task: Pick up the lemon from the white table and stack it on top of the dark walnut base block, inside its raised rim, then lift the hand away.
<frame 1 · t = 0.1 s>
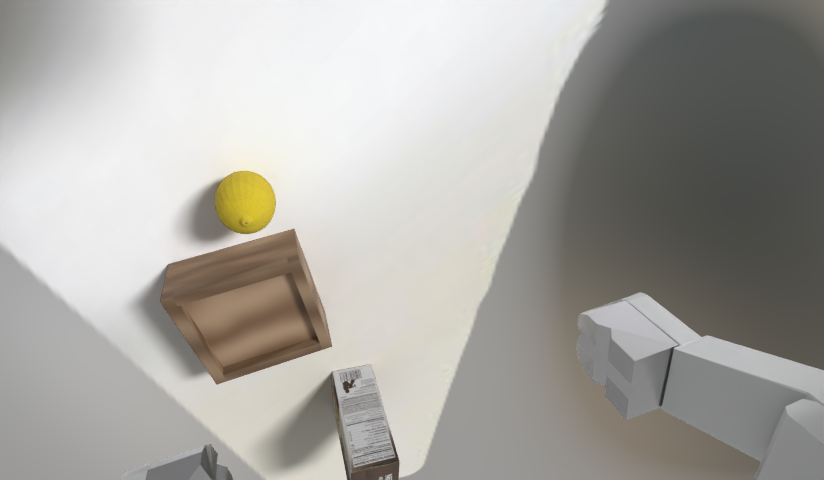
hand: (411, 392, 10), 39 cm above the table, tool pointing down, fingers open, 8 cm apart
lemon: (245, 182, 46), on the table
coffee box: (351, 384, 70), on the table
walnut base: (254, 290, 54), on the table
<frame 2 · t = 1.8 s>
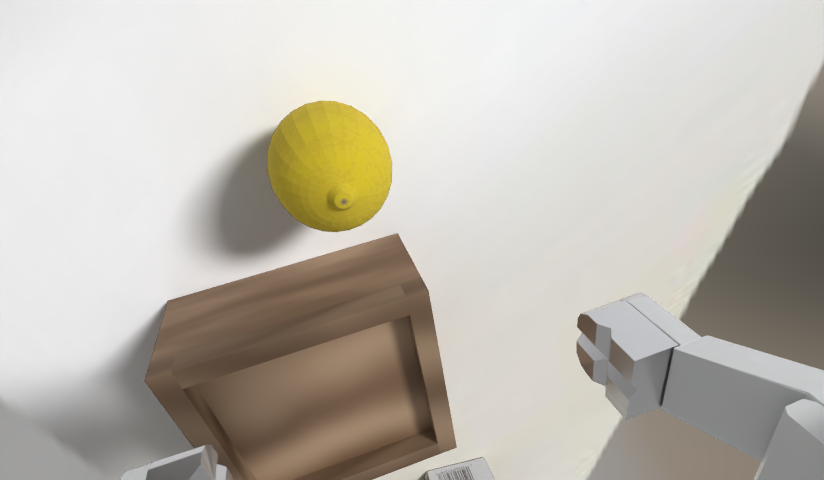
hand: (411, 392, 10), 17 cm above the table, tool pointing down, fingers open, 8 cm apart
lemon: (320, 138, 24), on the table
walnut base: (318, 346, 31), on the table
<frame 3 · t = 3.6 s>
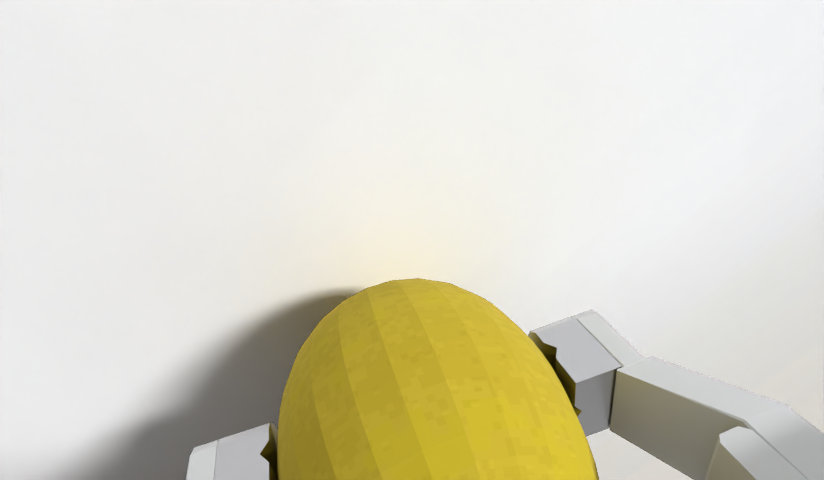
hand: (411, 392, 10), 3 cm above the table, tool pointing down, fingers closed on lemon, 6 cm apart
lemon: (379, 306, 12), on the table, touching gripper
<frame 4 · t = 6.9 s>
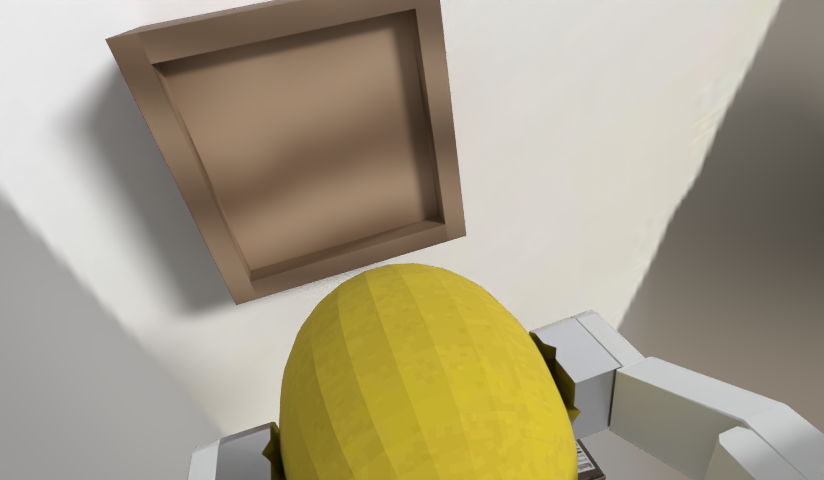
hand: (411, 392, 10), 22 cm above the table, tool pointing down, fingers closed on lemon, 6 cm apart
lemon: (376, 294, 13), point 18 cm above the table, touching gripper
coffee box: (456, 354, 42), on the table
walnut base: (313, 125, 28), on the table
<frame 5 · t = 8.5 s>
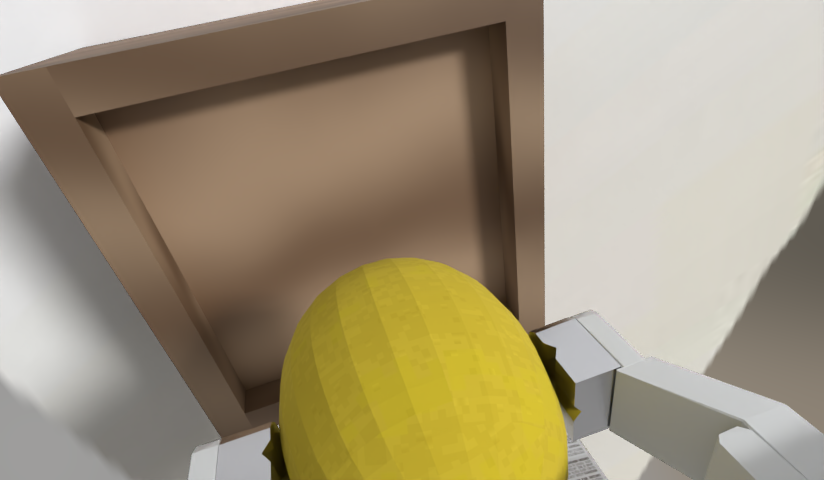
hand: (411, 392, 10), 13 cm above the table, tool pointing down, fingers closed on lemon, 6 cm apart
lemon: (374, 289, 13), point 9 cm above the table, touching gripper
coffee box: (500, 438, 34), on the table
walnut base: (332, 179, 20), on the table
when the fingers open (9 cm above the table, at t = 10.0 s): lemon stays where it is, resting on walnut base.
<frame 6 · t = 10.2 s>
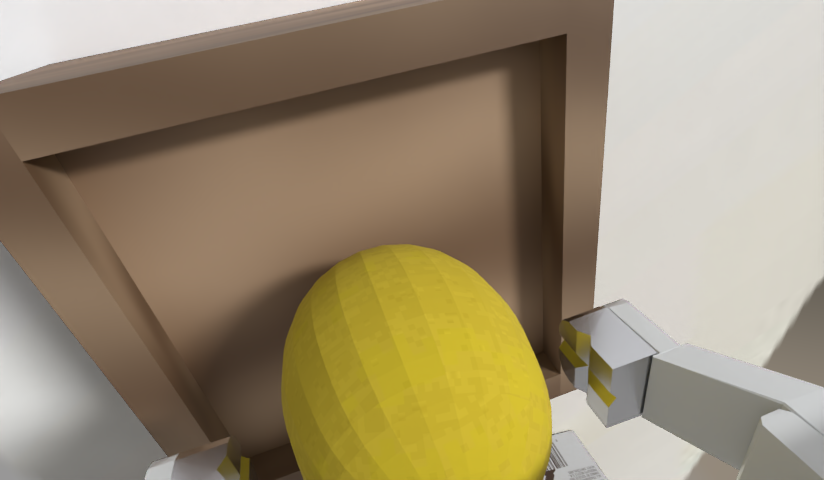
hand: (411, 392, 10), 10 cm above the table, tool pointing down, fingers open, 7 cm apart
lemon: (369, 275, 14), point 5 cm above the table, touching walnut base
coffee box: (521, 476, 31), on the table
walnut base: (343, 210, 18), on the table
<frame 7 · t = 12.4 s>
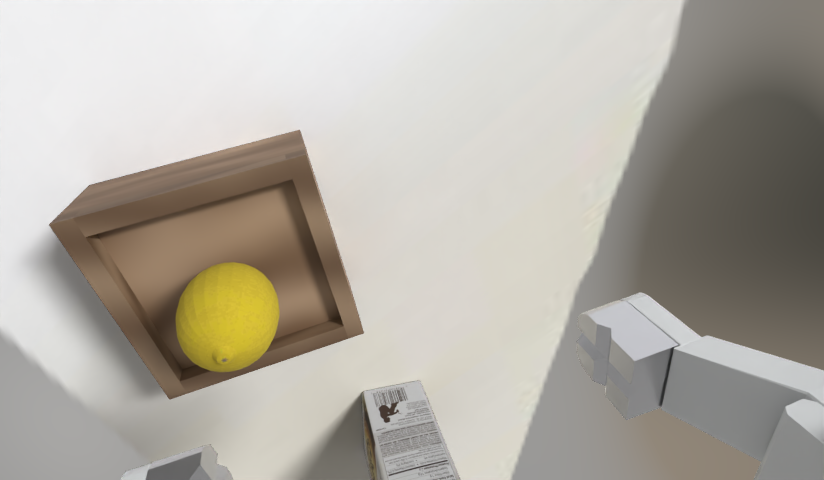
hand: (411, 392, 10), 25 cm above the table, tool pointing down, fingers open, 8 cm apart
lemon: (234, 276, 29), point 5 cm above the table, touching walnut base
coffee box: (391, 414, 47), on the table
walnut base: (237, 243, 33), on the table
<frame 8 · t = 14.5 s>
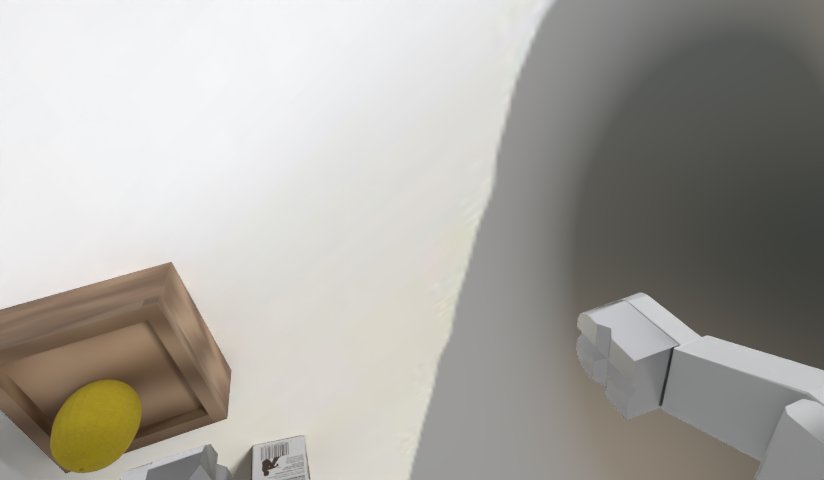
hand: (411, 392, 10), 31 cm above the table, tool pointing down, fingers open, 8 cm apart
lemon: (114, 382, 38), point 5 cm above the table, touching walnut base
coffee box: (282, 461, 55), on the table
walnut base: (127, 344, 42), on the table
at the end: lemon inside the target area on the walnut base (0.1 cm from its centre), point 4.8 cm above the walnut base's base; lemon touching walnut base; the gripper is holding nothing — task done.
